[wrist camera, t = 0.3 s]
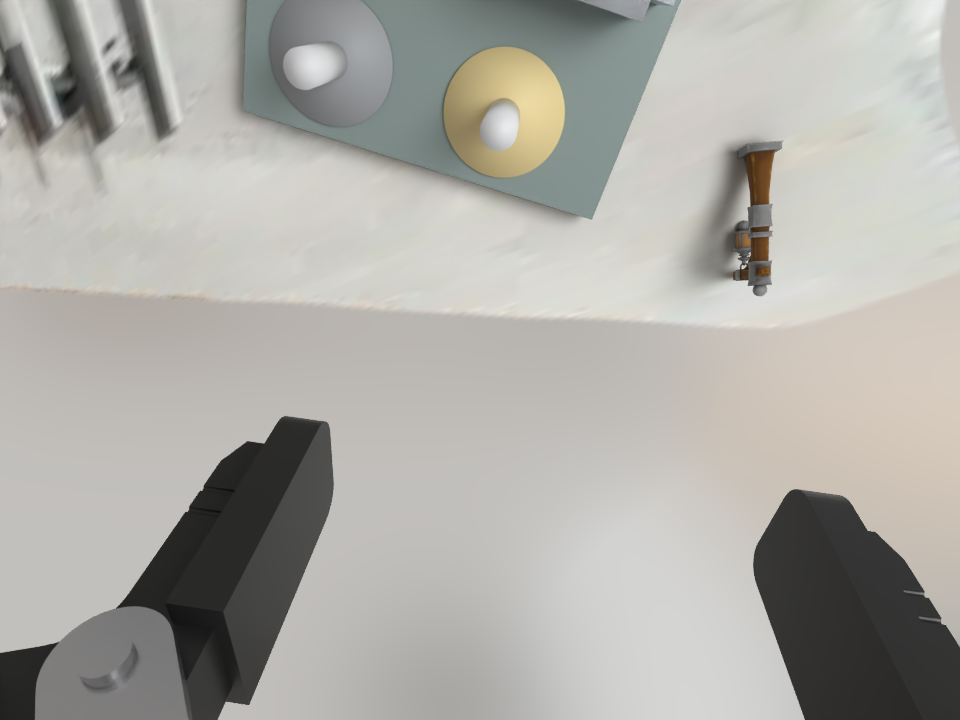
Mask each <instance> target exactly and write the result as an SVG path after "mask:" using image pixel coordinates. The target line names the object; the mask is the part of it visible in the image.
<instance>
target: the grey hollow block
mask: <svg viewBox="0 0 960 720" xmlns="http://www.w3.org/2000/svg"><path fill="white" fill-rule="evenodd" d="M575 1H578V2H581V3H584V4H587V5H590V6H592V7H595V8H598V9H601V10H604V11H607V12H610V13H613V14H616V15H619V16H622V17H625V18H628V19H631V20H635V21H640V22H643V19H644V16H645V14H646V11H647V9H648V6H649V3H652V4H655V5H666V6H673V5H674V3H675V0H575Z"/></svg>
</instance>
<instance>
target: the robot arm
mask: <svg viewBox="0 0 960 720" xmlns="http://www.w3.org/2000/svg"><path fill="white" fill-rule="evenodd" d="M332 468H333V467H332V453H331V438H330V428H329V425H328V423H327V422H324V421H316V420H309V419H303V418H295V417H288V416H284V417H282V418H281V419H280V420H279V421H278V423H277V424H276V426H275V427H274V429H273V431H272V432H271V434H270V436H269V437H268V439H267V440H266V442H265V443H264V444H262V443H255V442H249V441H247V442H246V443H245V444H243V445H242V446H241V447H239V448H238V449H236V450H235V451H234V452H232V453H231V454H230V455H229V456H227V457H226V458H224V459H223V460H221V462H220V463H219V464H218V466H217V467H216V469H215V470H214V472H213V473H212V475H211V476H210V477H209V479H208V480H207V482H206V483H205V485H204V489H203V491H200V492H199V493H198V495H197V496H196V498H195V499H194V500H193V502H192V504H191V505H190V506H189V511H188V512H185V514H184V515H183V516H182V518H181V519H180V521H179V522H178V524H177V525H176V526H175V528H174V529H173V531H172V532H171V534H170V535H169V537H168V538H167V539H166V541H165V542H164V544H163V545H162V547H161V548H160V550H159V551H158V552H157V554H156V555H155V557H154V558H153V560H152V561H151V562H150V564H149V565H148V567H147V568H146V570H145V571H144V573H143V574H142V575H141V577H140V578H139V580H138V581H137V583H136V584H135V586H134V587H133V588H132V590H131V591H130V593H129V594H128V595H127V597H126V598H125V599H124V600H123V602H122V603H121V604H120V605H119V606H118V607H117V608H116V609H113V610H110V611H107V612H104V613H101V614H99V615H97V616H95V617H93V618H91V619H89V620H87V621H86V622H84V623H82V624H81V625H79V626H78V627H77V628H75V629H74V630H72V631H71V632H70V633H69V634H68V635H66V636H65V637H64V638H63V639H62V640H61V641H60V642H57V643H54V644H49V645H45V646H40V647H34V648H28V649H22V650H16V651H10V652H4V653H0V720H218V717H219V715H220V713H221V710H222V709H223V706H224V704H225V702H233V703H239V704H246V705H249V704H250V701H251V699H252V696H253V694H254V692H255V689H256V687H257V685H258V682H259V680H260V677H261V675H262V673H263V670H264V668H265V665H266V663H267V661H268V658H269V655H270V653H271V651H272V648H273V646H274V644H275V641H276V639H277V637H278V634H279V632H280V629H281V627H282V625H283V622H284V620H285V617H286V615H287V613H288V610H289V608H290V605H291V603H292V600H293V598H294V596H295V593H296V591H297V588H298V586H299V584H300V581H301V579H302V577H303V574H304V572H305V569H306V567H307V565H308V562H309V560H310V557H311V555H312V553H313V550H314V548H315V545H316V543H317V540H318V538H319V535H320V533H321V531H322V529H323V526H324V524H325V521H326V518H327V516H328V513H329V510H330V506H331V502H332V496H333V485H334V484H333V469H332ZM753 568H754V576H755V581H756V584H757V587H758V589H759V592H760V595H761V598H762V600H763V603H764V606H765V609H766V612H767V615H768V617H769V620H770V623H771V626H772V629H773V631H774V634H775V637H776V640H777V643H778V645H779V648H780V651H781V654H782V657H783V659H784V662H785V665H786V668H787V670H788V673H789V676H790V679H791V682H792V685H793V687H794V690H795V693H796V696H797V699H798V701H799V704H800V707H801V710H802V713H803V715H804V718H805V720H960V647H959V645H958V644H957V642H956V641H955V639H954V637H953V636H952V634H951V633H950V631H949V630H948V628H947V627H946V625H942V624H941V617H940V615H939V614H938V612H937V611H936V609H935V607H934V606H933V604H932V603H931V601H930V599H929V598H925V597H924V590H923V588H922V587H921V585H920V584H919V582H918V581H917V579H916V577H915V576H914V574H913V573H912V571H911V570H910V568H909V566H908V565H907V563H906V562H905V560H904V559H903V558H902V557H901V556H900V555H899V554H898V553H897V552H895V551H894V550H893V549H892V548H891V547H890V546H889V545H888V544H887V543H886V542H885V541H884V540H883V539H882V538H881V537H880V536H879V535H878V534H877V533H876V532H871V531H867V529H866V528H865V526H864V524H863V522H862V521H861V519H860V517H859V516H858V514H857V513H856V511H855V509H854V507H853V506H852V504H851V503H850V502H849V501H848V500H847V499H846V498H845V497H843V496H840V495H833V494H826V493H819V492H812V491H805V490H798V489H795V490H791V491H790V492H789V493H788V494H787V495H786V496H785V498H784V499H783V501H782V503H781V505H780V506H779V508H778V510H777V512H776V513H775V515H774V517H773V518H772V520H771V522H770V524H769V525H768V527H767V529H766V530H765V532H764V534H763V535H762V537H761V539H760V541H759V542H758V545H757V546H756V549H755V553H754V562H753Z"/></svg>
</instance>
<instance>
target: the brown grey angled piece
mask: <svg viewBox="0 0 960 720" xmlns="http://www.w3.org/2000/svg"><path fill="white" fill-rule="evenodd" d="M782 143H783V141H774V142H763V143H752V144H746V145H745V146H743V147H742V148H740V149H739V150H738V151H737V152H738V157H737V158H744V159H745V163H746V167H747V174H748V181H749V189H750V205H751V207H748V221H742V222H741V223H740V224H739V230H740V231H736V232H734V233H735V240H736V248H735V249H732V251H735V252H738V253H740V255H739V256H742V257H740V258H738V259H739V260H741V261H742V264H741V265H740V270H736V271H734V272H733V280H736V281H741V280H749V282H748V286H754V287H753V293H754V294H755V295H756V296H763V295H764V294H765V293H766V292H767V287H766V285H771V284H772V283H771V263H772V261H768V255H769V237H770V236H772V231H769V226H773V225H772V221H771V208H772V204H769V188H770V179H771V170H772V162H773V157H774V153H775V152H777V151H778V150H780V149H782ZM749 228H750V230H749ZM749 252H751V256H750V257H747V256H748V255H750V254H748V253H749ZM747 260H749V261H748V264H747V263H746V261H747ZM745 264H746V265H747V266H746V268H744V269H741V267H742V265H745Z"/></svg>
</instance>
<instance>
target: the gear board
mask: <svg viewBox="0 0 960 720" xmlns="http://www.w3.org/2000/svg"><path fill="white" fill-rule="evenodd" d="M680 2H681V0H675V3H674V5H673V6H666V5H655V4H652V3H649V6H648V9H647V11H646V14H645V16H644V19H643V22H640V21H635V20H631V19H628V18H625V17H622V16H619V15H616V14H613V13H610V12H607V11H604V10H601V9H598V8H595V7H592V6H590V5H587V4H584V3H581V2H578V1H575V0H247V5H246V32H245V59H244V86H243V111H245V112H248V113H252V114H255V115H258V116H261V117H264V118H268V119H271V120H274V121H277V122H280V123H284V124H287V125H290V126H293V127H296V128H300V129H303V130H306V131H309V132H312V133H316V134H319V135H322V136H325V137H328V138H332V139H335V140H338V141H341V142H344V143H348V144H351V145H354V146H357V147H360V148H364V149H367V150H370V151H373V152H377V153H380V154H383V155H386V156H389V157H393V158H396V159H399V160H402V161H405V162H409V163H412V164H415V165H418V166H421V167H425V168H428V169H431V170H434V171H437V172H441V173H444V174H447V175H450V176H453V177H457V178H460V179H463V180H466V181H469V182H473V183H476V184H479V185H482V186H485V187H489V188H492V189H495V190H498V191H501V192H505V193H508V194H511V195H514V196H517V197H521V198H524V199H527V200H530V201H533V202H537V203H540V204H543V205H546V206H550V207H553V208H556V209H559V210H562V211H566V212H569V213H572V214H575V215H578V216H582V217H585V218H588V219H591V220H592V218H593V215H594V213H595V211H596V208H597V206H598V203H599V201H600V198H601V196H602V193H603V191H604V188H605V186H606V183H607V181H608V179H609V176H610V174H611V171H612V169H613V166H614V164H615V161H616V159H617V156H618V154H619V152H620V149H621V147H622V144H623V142H624V139H625V137H626V134H627V132H628V129H629V127H630V124H631V122H632V120H633V117H634V115H635V112H636V110H637V107H638V105H639V102H640V100H641V97H642V95H643V93H644V90H645V88H646V85H647V83H648V80H649V78H650V75H651V73H652V70H653V68H654V65H655V63H656V61H657V58H658V56H659V53H660V51H661V48H662V46H663V43H664V41H665V38H666V36H667V34H668V31H669V29H670V26H671V24H672V21H673V19H674V16H675V14H676V11H677V9H678V6H679V4H680Z"/></svg>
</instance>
